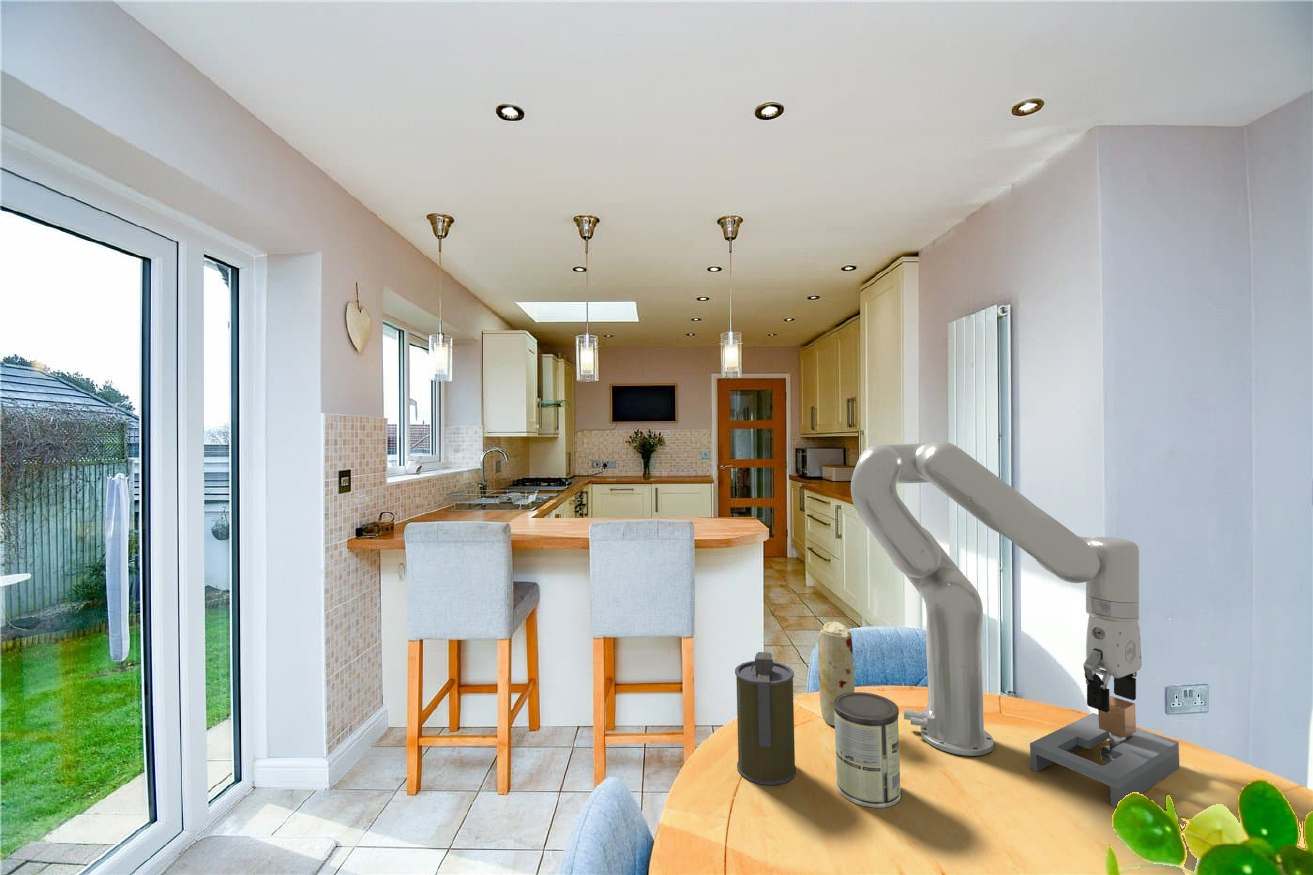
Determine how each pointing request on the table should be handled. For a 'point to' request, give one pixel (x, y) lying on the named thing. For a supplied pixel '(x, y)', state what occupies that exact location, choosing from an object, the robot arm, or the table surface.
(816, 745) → the table surface
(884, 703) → the coffee can
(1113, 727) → the peg
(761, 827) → the table surface
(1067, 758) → the keyhole board
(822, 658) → the food model
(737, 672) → the canister
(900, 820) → the table surface
